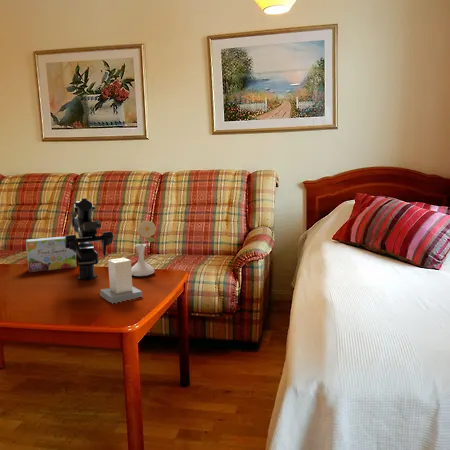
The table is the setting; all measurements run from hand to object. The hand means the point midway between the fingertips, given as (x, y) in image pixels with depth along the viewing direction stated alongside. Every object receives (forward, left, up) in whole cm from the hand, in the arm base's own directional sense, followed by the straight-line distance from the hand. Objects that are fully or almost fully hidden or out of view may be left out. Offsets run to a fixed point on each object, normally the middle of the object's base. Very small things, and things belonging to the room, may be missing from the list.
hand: (93, 256), depth 177 cm
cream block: (+6, +15, -11) cm, 20 cm away
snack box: (-24, -39, -14) cm, 48 cm away
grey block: (+5, +15, -14) cm, 21 cm away
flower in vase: (-25, +9, -14) cm, 30 cm away
